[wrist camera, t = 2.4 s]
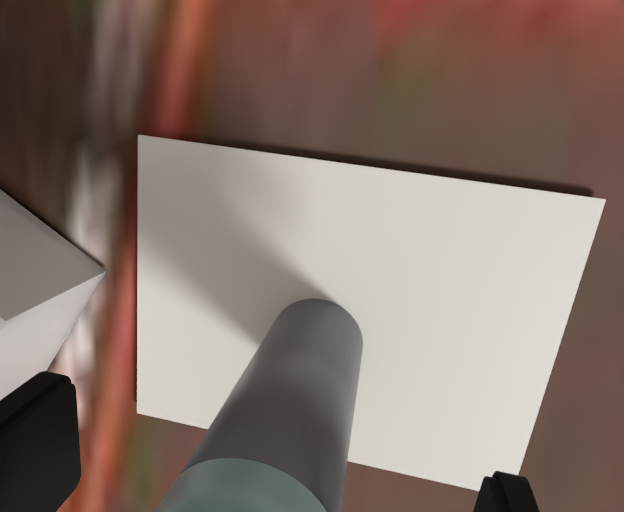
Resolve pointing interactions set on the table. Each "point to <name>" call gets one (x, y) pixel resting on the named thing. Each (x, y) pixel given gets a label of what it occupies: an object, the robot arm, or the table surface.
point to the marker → (281, 422)
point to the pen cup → (37, 293)
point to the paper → (360, 294)
